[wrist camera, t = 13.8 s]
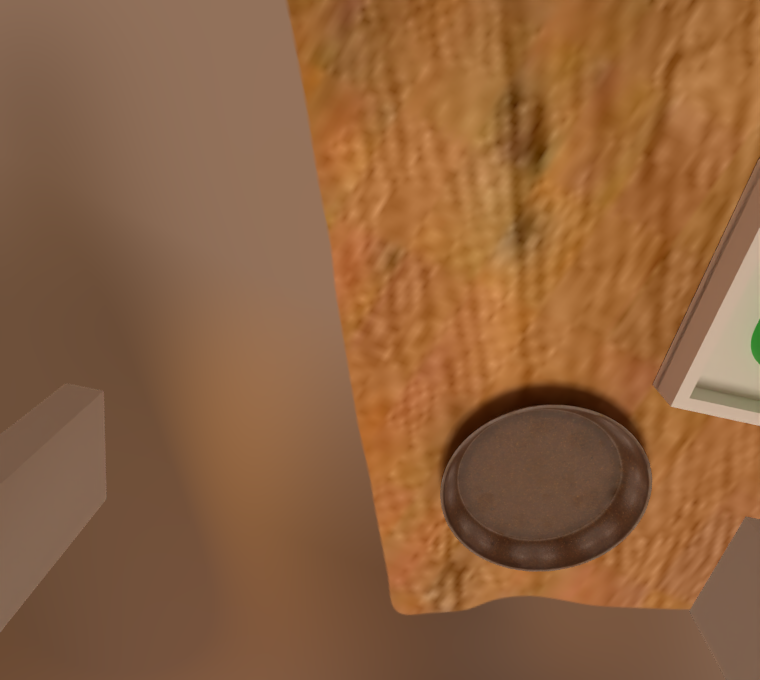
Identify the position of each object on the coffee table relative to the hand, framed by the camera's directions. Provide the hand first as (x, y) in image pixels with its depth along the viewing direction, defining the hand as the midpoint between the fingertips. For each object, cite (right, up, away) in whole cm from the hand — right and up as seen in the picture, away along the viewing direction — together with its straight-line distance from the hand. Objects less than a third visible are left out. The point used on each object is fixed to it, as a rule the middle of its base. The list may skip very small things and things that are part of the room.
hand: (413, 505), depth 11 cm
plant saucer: (+14, -9, +38) cm, 41 cm away
